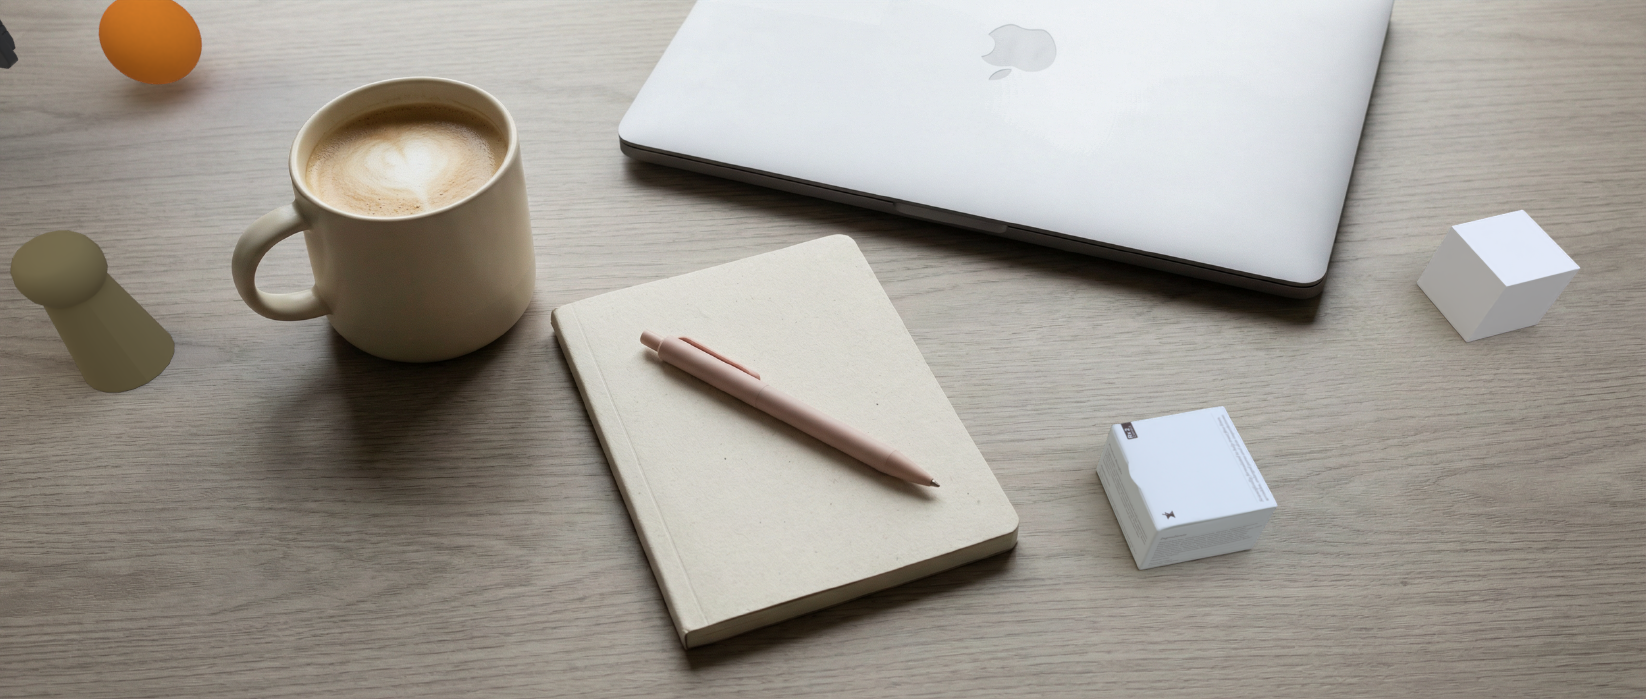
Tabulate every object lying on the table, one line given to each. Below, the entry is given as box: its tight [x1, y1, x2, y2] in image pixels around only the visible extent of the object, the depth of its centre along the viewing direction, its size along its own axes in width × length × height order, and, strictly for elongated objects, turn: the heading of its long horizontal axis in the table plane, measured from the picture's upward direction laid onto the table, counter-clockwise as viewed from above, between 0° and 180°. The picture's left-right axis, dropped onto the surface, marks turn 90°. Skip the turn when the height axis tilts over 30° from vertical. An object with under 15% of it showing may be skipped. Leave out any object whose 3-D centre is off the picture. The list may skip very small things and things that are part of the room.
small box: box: [1095, 405, 1279, 571], centre depth 69 cm, size 8×8×5 cm
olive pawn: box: [9, 229, 176, 393], centre depth 74 cm, size 6×6×11 cm
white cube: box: [1416, 209, 1581, 343], centre depth 80 cm, size 6×6×6 cm
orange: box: [98, 0, 203, 85], centre depth 96 cm, size 8×8×8 cm
